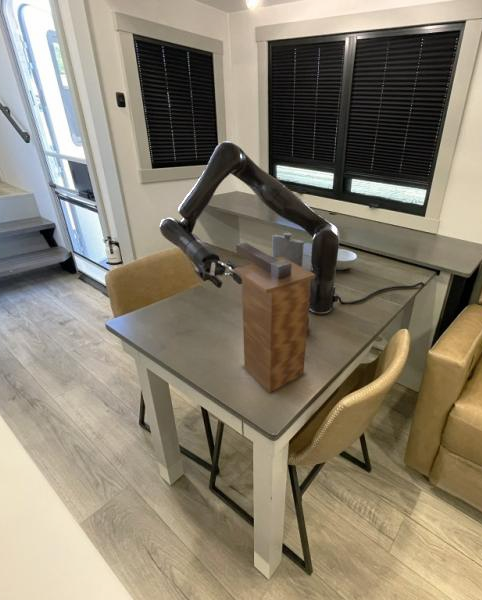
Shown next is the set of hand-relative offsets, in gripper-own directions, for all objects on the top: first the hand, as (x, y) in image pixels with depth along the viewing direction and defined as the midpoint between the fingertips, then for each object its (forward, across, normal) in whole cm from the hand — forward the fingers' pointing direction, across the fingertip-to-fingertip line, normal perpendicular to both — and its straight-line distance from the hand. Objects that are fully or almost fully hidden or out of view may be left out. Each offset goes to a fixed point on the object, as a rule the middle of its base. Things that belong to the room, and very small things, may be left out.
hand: (231, 283), depth 103 cm
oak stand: (+27, -1, +12) cm, 30 cm away
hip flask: (-16, +52, +14) cm, 56 cm away
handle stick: (+12, -6, -16) cm, 22 cm away
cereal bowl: (-4, +77, +5) cm, 78 cm away
